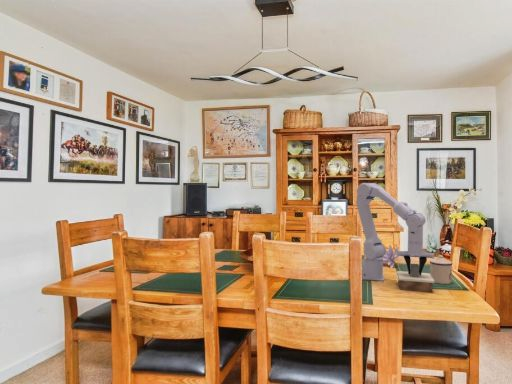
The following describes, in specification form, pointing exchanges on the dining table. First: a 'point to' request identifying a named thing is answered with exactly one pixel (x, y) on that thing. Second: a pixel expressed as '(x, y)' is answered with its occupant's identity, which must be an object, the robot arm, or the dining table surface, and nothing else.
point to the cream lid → (415, 275)
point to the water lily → (390, 256)
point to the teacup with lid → (441, 270)
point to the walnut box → (415, 286)
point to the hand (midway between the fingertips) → (414, 274)
